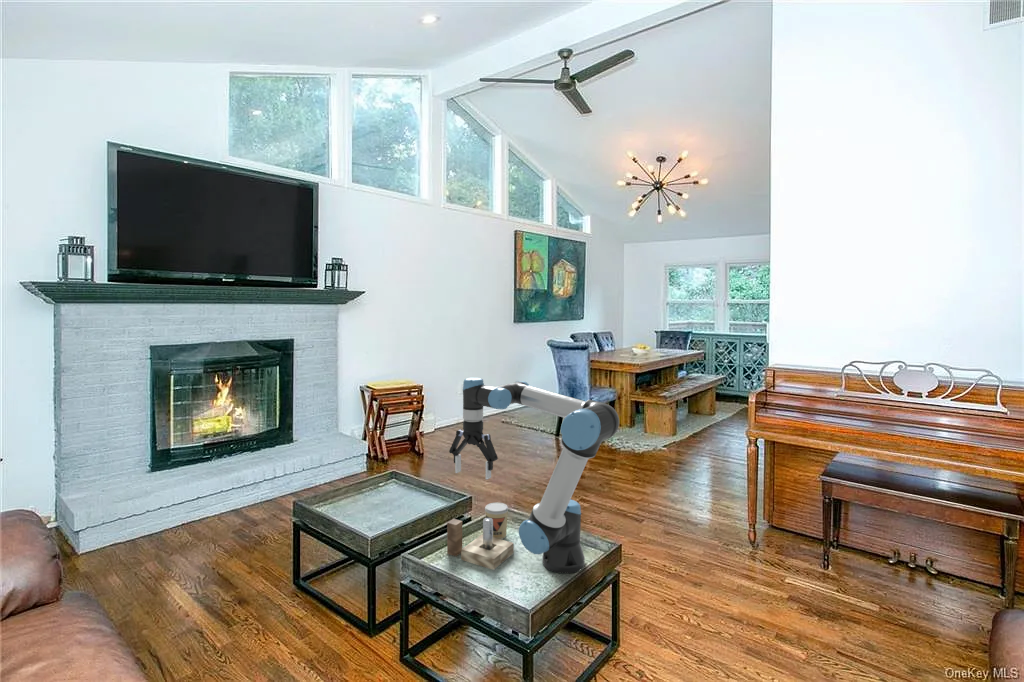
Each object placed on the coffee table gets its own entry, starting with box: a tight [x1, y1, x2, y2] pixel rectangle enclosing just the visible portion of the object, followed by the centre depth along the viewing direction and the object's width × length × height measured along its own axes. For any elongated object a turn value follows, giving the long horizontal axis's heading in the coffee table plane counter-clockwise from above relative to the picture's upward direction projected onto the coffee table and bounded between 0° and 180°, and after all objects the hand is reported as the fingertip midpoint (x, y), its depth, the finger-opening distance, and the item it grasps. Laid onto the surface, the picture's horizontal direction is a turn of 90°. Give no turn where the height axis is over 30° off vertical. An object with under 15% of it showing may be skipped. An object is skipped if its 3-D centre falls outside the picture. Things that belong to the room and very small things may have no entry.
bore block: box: [460, 533, 515, 571], centre depth 194 cm, size 14×14×4 cm
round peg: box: [482, 517, 493, 550], centre depth 193 cm, size 4×4×14 cm
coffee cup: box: [484, 501, 509, 540], centre depth 210 cm, size 9×9×12 cm
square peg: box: [446, 518, 463, 557], centre depth 196 cm, size 4×4×12 cm
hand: (472, 475), depth 197 cm, fingers open, 13 cm apart
